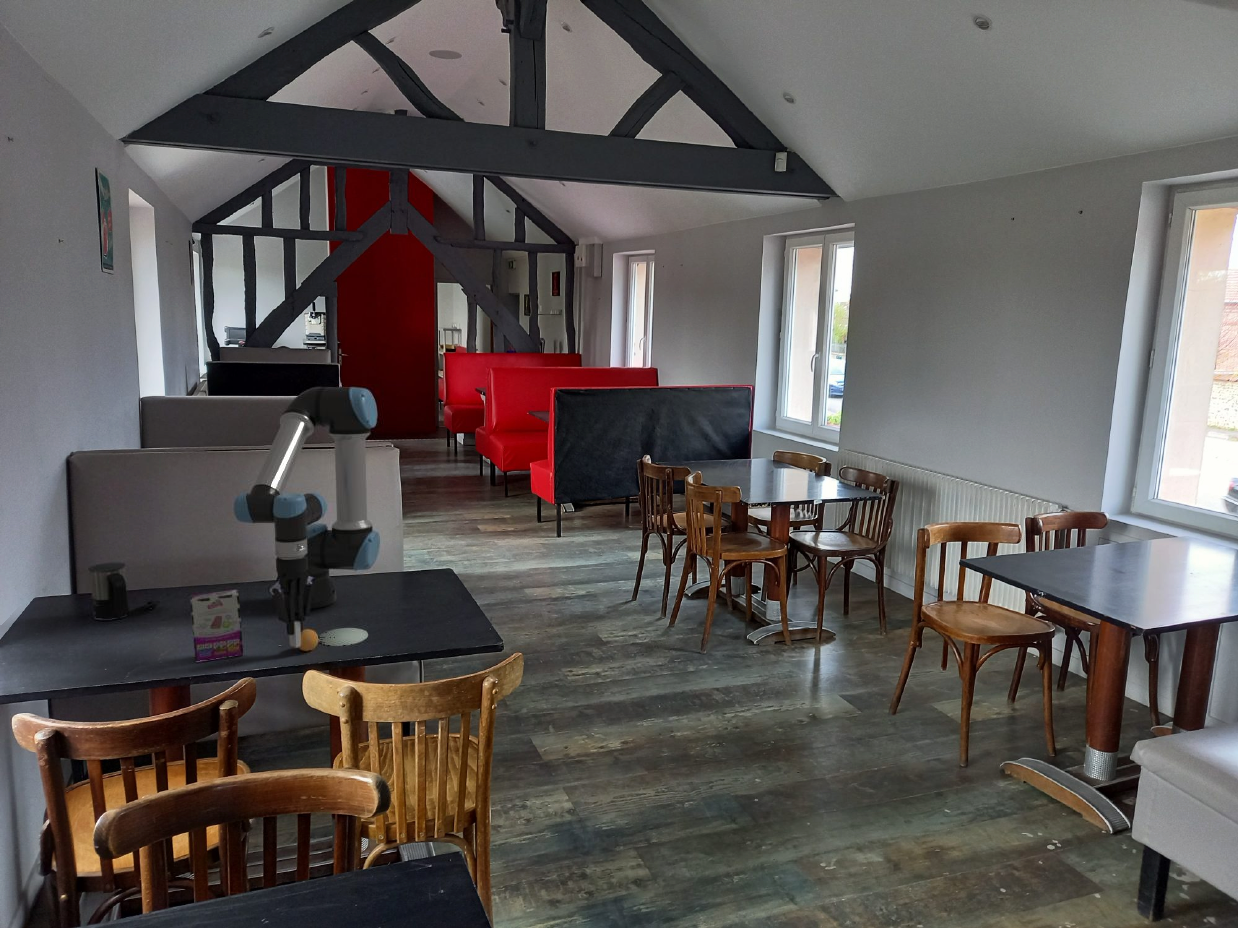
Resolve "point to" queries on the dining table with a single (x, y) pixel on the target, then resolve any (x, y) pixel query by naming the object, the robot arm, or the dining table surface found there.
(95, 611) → the milk frother
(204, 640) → the candy bar box
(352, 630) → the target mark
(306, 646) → the ball
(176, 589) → the dining table surface
